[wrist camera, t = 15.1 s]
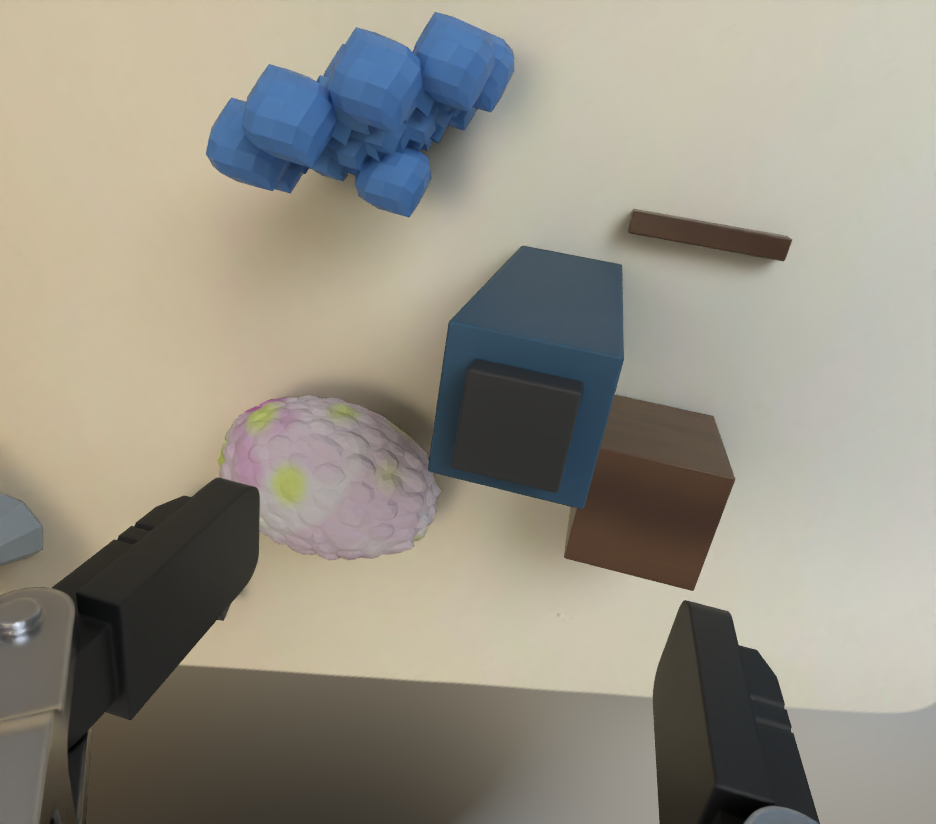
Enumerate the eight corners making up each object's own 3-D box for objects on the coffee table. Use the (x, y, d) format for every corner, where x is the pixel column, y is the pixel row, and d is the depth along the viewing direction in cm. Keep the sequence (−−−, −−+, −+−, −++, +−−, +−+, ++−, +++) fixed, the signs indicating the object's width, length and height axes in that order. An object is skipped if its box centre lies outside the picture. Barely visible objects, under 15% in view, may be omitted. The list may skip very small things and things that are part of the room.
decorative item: (454, 581, 34) (278, 608, 28) (348, 529, 43) (193, 540, 36) (474, 414, 34) (300, 400, 27) (363, 394, 42) (209, 380, 36)
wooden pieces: (689, 515, 35) (704, 594, 29) (564, 485, 36) (553, 555, 30) (787, 236, 29) (832, 261, 23) (632, 208, 30) (636, 225, 24)
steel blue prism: (555, 563, 29) (600, 480, 16) (450, 536, 30) (412, 435, 17) (610, 303, 34) (680, 77, 21) (519, 284, 35) (531, 54, 22)
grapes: (344, 245, 34) (213, 293, 23) (288, 112, 32) (116, 97, 21) (555, 161, 30) (519, 170, 19) (507, 5, 28) (436, -83, 17)
